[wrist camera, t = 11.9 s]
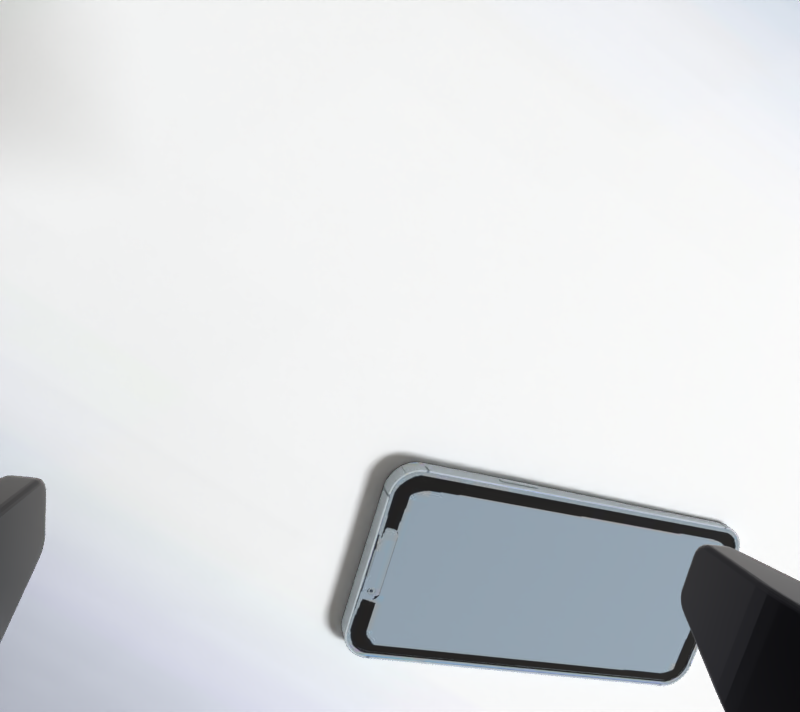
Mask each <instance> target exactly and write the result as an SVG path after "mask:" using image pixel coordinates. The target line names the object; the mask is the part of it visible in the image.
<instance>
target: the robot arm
mask: <svg viewBox="0 0 800 712" xmlns="http://www.w3.org/2000/svg"><path fill="white" fill-rule="evenodd" d="M45 513H46V488H45V484H44V482H43V481H42V480H41V479H38V478H33V477H23V476H13V475H12V476H5V477H2V478H0V642H1V640H2V638H3V636H4V634H5V632H6V629H7V627H8V625H9V623H10V621H11V619H12V616H13V614H14V612H15V610H16V608H17V606H18V603H19V601H20V599H21V597H22V595H23V593H24V590H25V588H26V586H27V584H28V582H29V579H30V577H31V575H32V573H33V571H34V569H35V566H36V564H37V562H38V560H39V558H40V555H41V553H42V549H43V545H44V540H45ZM681 606H682V610H683V612H684V615H685V617H686V620H687V622H688V625H689V627H690V629H691V632H692V634H693V637H694V639H695V642H696V644H697V647H698V649H699V651H700V654H701V656H702V659H703V661H704V664H705V666H706V668H707V671H708V673H709V676H710V678H711V681H712V683H713V685H714V688H715V690H716V693H717V695H718V697H719V699H720V702H721V704H722V706H723V708H724V710H725V712H800V581H798V580H796V579H794V578H792V577H790V576H788V575H786V574H784V573H782V572H780V571H778V570H776V569H774V568H772V567H770V566H768V565H766V564H764V563H762V562H760V561H758V560H756V559H754V558H752V557H750V556H748V555H745V554H743V553H741V552H739V551H737V550H735V549H733V548H731V547H728V546H720V545H710V544H704V545H702V546H700V547H698V549H697V550H696V551H695V554H694V556H693V559H692V562H691V565H690V568H689V571H688V573H687V576H686V579H685V582H684V585H683V588H682V591H681Z"/></svg>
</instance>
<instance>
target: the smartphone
mask: <svg viewBox="0 0 800 712" xmlns="http://www.w3.org/2000/svg"><path fill="white" fill-rule="evenodd" d="M704 544H710V545H720V546H728V547H731V548H733V549H735V550H737V551H739V548H740V542H739V537H738V535H737V533H736V532H735V531H734V530H733V529H731V528H730V527H728V526H727V525H725V524H722V523H718V522H714V521H709V520H704V519H699V518H694V517H689V516H684V515H679V514H674V513H669V512H665V511H658V510H653V509H648V508H643V507H639V506H634V505H629V504H625V503H620V502H615V501H611V500H606V499H601V498H596V497H591V496H586V495H581V494H576V493H571V492H566V491H561V490H557V489H552V488H547V487H542V486H537V485H532V484H527V483H522V482H517V481H512V480H508V479H503V478H498V477H493V476H488V475H483V474H478V473H473V472H468V471H463V470H458V469H452V468H447V467H442V466H437V465H432V464H427V463H421V462H411V463H407V464H404V465H402V466H400V467H399V468H397V469H396V470H394V471H393V472H392V473H391V474H390V476H389V477H388V478H387V480H386V482H385V484H384V487H383V490H382V494H381V497H380V500H379V503H378V506H377V510H376V513H375V516H374V519H373V522H372V526H371V529H370V532H369V535H368V538H367V542H366V545H365V548H364V551H363V554H362V558H361V561H360V564H359V567H358V570H357V573H356V577H355V580H354V583H353V586H352V589H351V593H350V596H349V599H348V602H347V605H346V609H345V612H344V615H343V618H342V632H343V636H344V640H345V643H346V645H347V647H348V649H349V650H350V651H351V652H352V653H354V654H355V655H357V656H359V657H363V658H371V659H382V660H392V661H403V662H413V663H424V664H435V665H445V666H456V667H466V668H477V669H488V670H498V671H509V672H519V673H530V674H541V675H551V676H562V677H572V678H583V679H594V680H604V681H615V682H625V683H636V684H647V685H657V686H666V685H670V684H673V683H675V682H677V681H678V680H680V679H681V678H682V677H683V676H684V675H685V674H686V673H687V671H688V670H689V668H690V666H691V664H692V661H693V659H694V656H695V654H696V652H697V649H698V647H697V644H696V642H695V639H694V637H693V634H692V632H691V629H690V627H689V625H688V622H687V620H686V617H685V615H684V612H683V610H682V606H681V591H682V588H683V585H684V582H685V579H686V576H687V573H688V571H689V568H690V565H691V562H692V559H693V556H694V554H695V551H696V550H697V549H698V547H700V546H702V545H704Z"/></svg>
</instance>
